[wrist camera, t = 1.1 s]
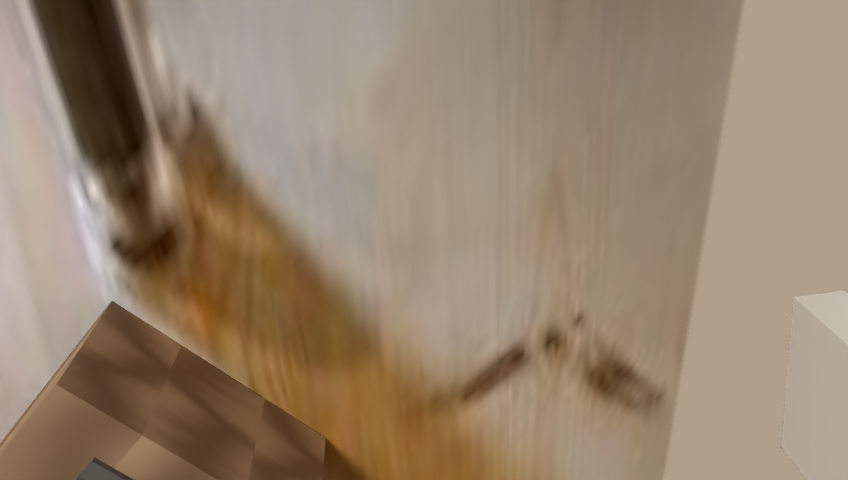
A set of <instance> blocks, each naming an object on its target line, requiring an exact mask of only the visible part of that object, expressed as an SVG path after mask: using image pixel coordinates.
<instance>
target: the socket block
mask: <svg viewBox="0 0 848 480" xmlns="http://www.w3.org/2000/svg"><path fill="white" fill-rule="evenodd" d="M325 440H326V438H325V437H323V436H322V435H320V434H319V433H317V432H316V431H314V430H312V429H311V428H309V427H308V426H306V425H305V424H303V423H302V422H300V421H298V420H297V419H295V418H294V417H292V416H291V415H289V414H287V413H286V412H284V411H283V410H281V409H280V408H278V407H277V406H275V405H273V404H272V403H270V402H269V401H267V400H266V399H264V398H262V397H261V396H259V395H258V394H256V393H255V392H253V391H252V390H250V389H248V388H247V387H245V386H244V385H242V384H241V383H239V382H237V381H236V380H234V379H233V378H231V377H230V376H228V375H226V374H225V373H223V372H222V371H220V370H219V369H217V368H216V367H214V366H212V365H211V364H209V363H208V362H206V361H205V360H203V359H201V358H200V357H198V356H197V355H195V354H194V353H192V352H191V351H189V350H187V349H186V348H184V347H183V346H181V345H180V344H178V343H176V342H175V341H173V340H172V339H170V338H169V337H167V336H166V335H164V334H162V333H161V332H159V331H158V330H156V329H155V328H153V327H151V326H150V325H148V324H147V323H145V322H144V321H142V320H141V319H139V318H137V317H136V316H134V315H133V314H131V313H130V312H128V311H126V310H125V309H123V308H122V307H120V306H119V305H117V304H116V303H114V302H111V303H110V304H109V305H108V307H107V308H106V309H105V311H104V312H103V313H102V314H101V316H100V317H99V318H98V319H97V321H96V322H95V323H94V325H93V326H92V327H91V328H90V330H89V331H88V332H87V333H86V335H85V336H84V337H83V339H82V340H81V341H80V342H79V344H78V345H77V346H76V348H75V349H74V350H73V351H72V353H71V354H70V355H69V356H68V358H67V359H66V360H65V362H64V363H63V364H62V365H61V367H60V368H59V369H58V370H57V372H56V373H55V374H54V376H53V377H52V378H51V379H50V381H49V382H48V383H47V385H46V386H45V387H44V388H43V390H42V391H41V392H40V393H39V395H38V396H37V397H36V399H35V400H34V401H33V402H32V404H31V405H30V406H29V407H28V409H27V410H26V411H25V413H24V414H23V415H22V416H21V418H20V419H19V420H18V422H17V423H16V424H15V425H14V427H13V428H12V429H11V430H10V432H9V433H8V434H7V436H6V437H5V438H4V439H3V441H2V442H1V443H0V480H323V467H324V454H325Z"/></svg>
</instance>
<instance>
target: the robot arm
mask: <svg viewBox="0 0 848 480" xmlns="http://www.w3.org/2000/svg"><path fill="white" fill-rule="evenodd" d="M790 334H791V335H790V346H789V358H788V370H787V382H786V393H785V394H786V395H785V405H784V418H783V430H782V442H781V448H782V449H783V451H784V452H785V453H786V454H787V456H788V457H789V458H790V460H791V461H792V462H793V463H794V465H795V466H796V467H797V468H798V470H799V471H800V472H801V473H802V475H803V476H804V477H805V479H806V480H848V293H847V292H845V291H844V290H842V291H835V292H827V293H820V294H813V295H805V296H798V297H793V309H792V322H791V333H790Z"/></svg>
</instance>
